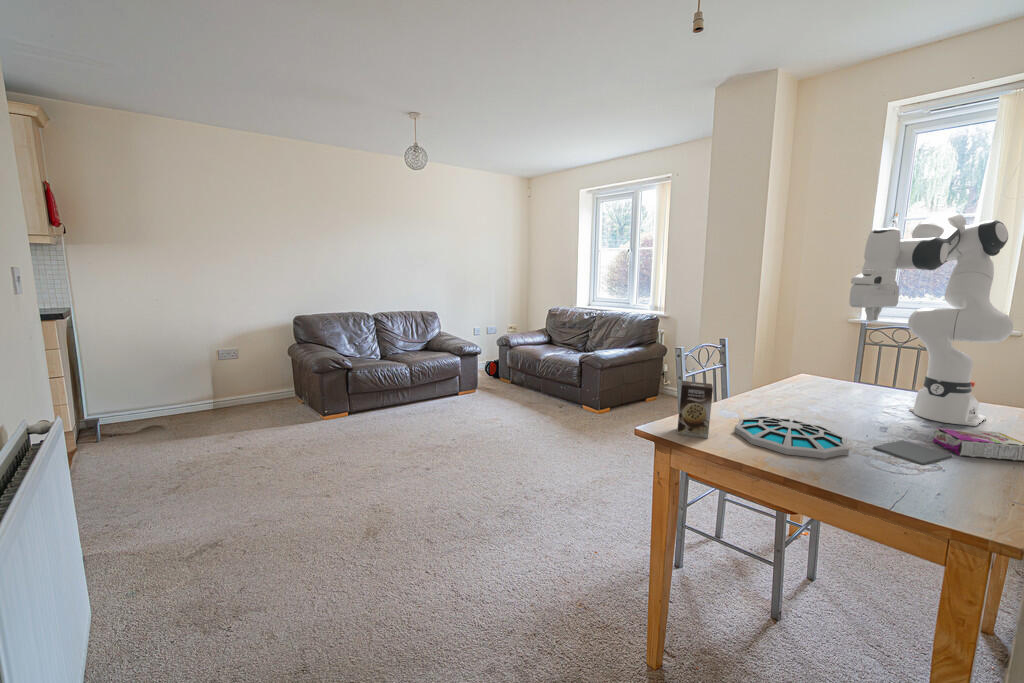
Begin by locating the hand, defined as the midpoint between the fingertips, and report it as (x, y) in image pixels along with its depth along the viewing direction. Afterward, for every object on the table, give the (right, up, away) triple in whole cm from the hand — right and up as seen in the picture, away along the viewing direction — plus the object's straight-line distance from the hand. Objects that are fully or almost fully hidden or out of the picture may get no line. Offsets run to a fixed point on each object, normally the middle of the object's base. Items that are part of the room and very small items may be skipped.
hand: (871, 320), depth 149 cm
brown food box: (-62, -36, -7) cm, 72 cm away
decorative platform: (-34, -37, -10) cm, 51 cm away
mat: (-4, -39, -20) cm, 44 cm away
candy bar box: (+8, -36, -17) cm, 41 cm away
